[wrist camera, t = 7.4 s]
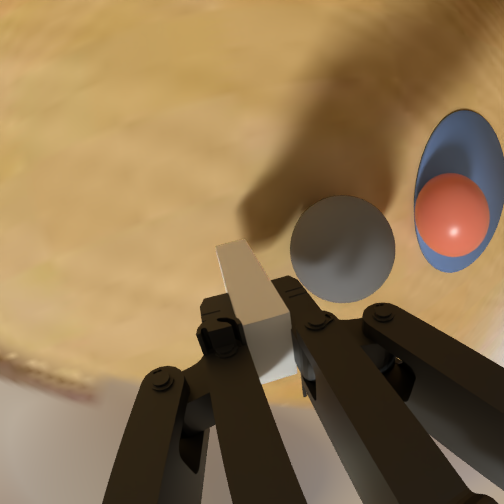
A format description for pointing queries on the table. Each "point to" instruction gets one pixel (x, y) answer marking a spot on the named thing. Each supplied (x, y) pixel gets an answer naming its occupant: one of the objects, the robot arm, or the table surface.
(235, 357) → the robot arm
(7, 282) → the table surface
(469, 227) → the red ball
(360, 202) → the grey ball
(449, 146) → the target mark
